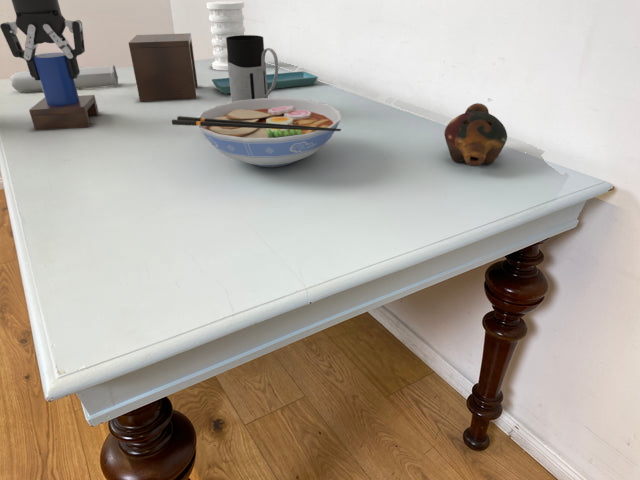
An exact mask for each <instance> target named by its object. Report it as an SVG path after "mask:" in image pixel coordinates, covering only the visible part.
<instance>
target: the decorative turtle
mask: <svg viewBox="0 0 640 480" xmlns="http://www.w3.org/2000/svg"><path fill="white" fill-rule="evenodd" d="M444 140H445V142H446V143H445V144H446V146H447V149H448V152H449V155H450V158H451V161H452V162H454V163H460V162H462V161H463V160H464V161H465V163H466V164H467V165H469V166H472V167H479V166H481V165H482V164H483V163H484V164H485V165H492V164H493V163H494V162H495V161H496V159H497V158H498V157H499V155H500V154H501V152H502V151H503V149H504V147H505V145H506V143H507V142H508V141H507V140H508V132H507V129H506V127H505V125H504V124H503V123H502V121H500V119H498V117H496V116H494V115H493V114H491V113H490V112H489V108H488V106H486V105H485V104H483V103H479V102H477V103H473V104H471V105H469V106H468V107H467V108H466V110H465V112H464V113H461V114H459V115H457V116H456V117H454V118H453V119H452V120H450V122H449V123H448V124H447V125H446V126H445V128H444Z"/></svg>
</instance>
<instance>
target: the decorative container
mask: <svg viewBox="0 0 640 480" xmlns="http://www.w3.org/2000/svg"><path fill="white" fill-rule="evenodd" d="M205 5H206V9H207V10H209V16H208V20H209V22H210V33H211V44H212V46H213V50H212V54H213V56H214V61H213V62H212V63H211V65H212V69H213V70H216V71H222V72H223V71H225V72H226V71H227V72H229V71H228V61H227V56H228V53H227V42H226V38H227V37H231V36H239V35H245V30H246V28H245V25H244V19H245V16H244V14H243V8H245V2H244V1H239V0H222V1H221V0H220V1H219V0H218V1H209V2H205Z"/></svg>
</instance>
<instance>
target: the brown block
mask: <svg viewBox="0 0 640 480" xmlns="http://www.w3.org/2000/svg"><path fill="white" fill-rule="evenodd" d="M193 47H194V45H193V41H192V33H190V32H188V33H187V32H186V33H158V34H136V35H135V36H134V37H133V38H132V39H131V40H130V41H129V42H128V49H129V52H130V57H131V61H132V62H131V63H132V67H133V73H134V77H135V84H136V88H137V93H138V99H139V102H140V103H142V102H163V101H180V100H196V99H197V96H198V95H197V89H198V88H199V84H198V77H197V70H196V69H197V68H196V62H195V55H194V48H193Z"/></svg>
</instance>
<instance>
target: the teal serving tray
mask: <svg viewBox="0 0 640 480" xmlns="http://www.w3.org/2000/svg"><path fill="white" fill-rule="evenodd" d="M266 76H267V91H269V89H270V88H271V86H272V83H273V79H274V73H268V74H267V73H266ZM318 78H319V77H318V76H317V75H315V74H312V73H310V72H308V71H303V70H302V71H291V72H290V71H289V72H280V73H279V72H278V77H277V81H276V84H275V87H274V89H273V90H275V89H276V90H277V89H284V88H294V87H302V86H303V87H304V86H313V85H315V83H316V82H317V80H318ZM211 82H212V83H213V85H214V86H215V89H217V90H218V91H219V92H221V93H223V94H224V95H226V94H227V95H228V94H231V91H230V81H229V77H225V78H224V77H223V78H221V77H220V78H213V79H211Z"/></svg>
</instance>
